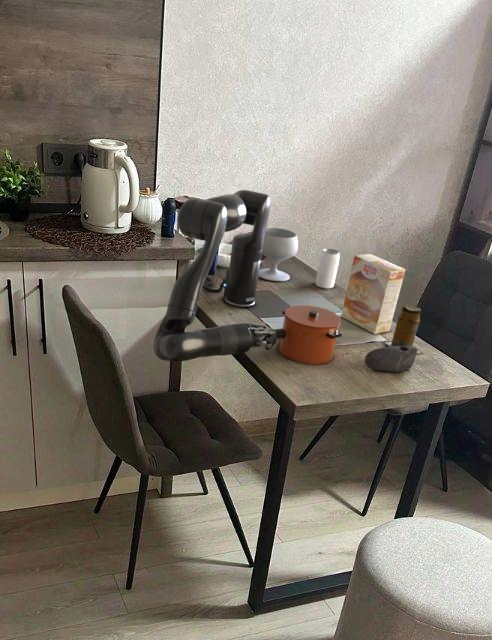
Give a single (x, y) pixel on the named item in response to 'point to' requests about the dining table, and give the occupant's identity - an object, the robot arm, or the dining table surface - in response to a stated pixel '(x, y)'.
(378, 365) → the perforated stone tool
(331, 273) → the can
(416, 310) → the condiment
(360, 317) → the coffeecake box
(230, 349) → the robot arm
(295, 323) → the pot
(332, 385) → the dining table surface
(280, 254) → the chalice
